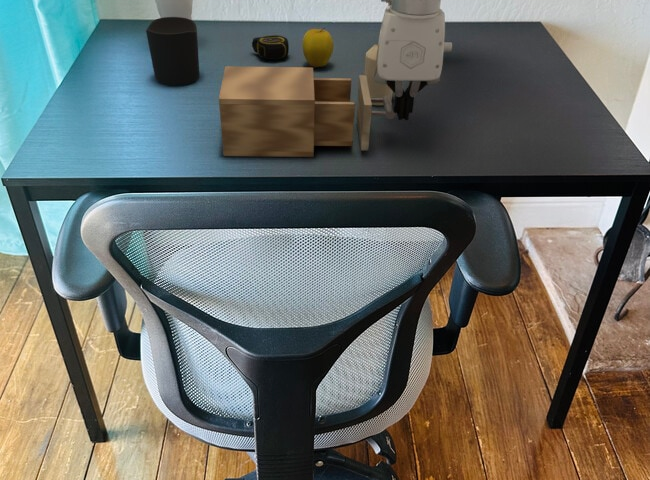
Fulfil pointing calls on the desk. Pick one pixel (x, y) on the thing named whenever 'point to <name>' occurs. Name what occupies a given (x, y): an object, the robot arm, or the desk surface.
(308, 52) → the apple
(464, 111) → the desk surface
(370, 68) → the candle
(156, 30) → the pen holder
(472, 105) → the desk surface
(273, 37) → the tape measure
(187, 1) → the cup
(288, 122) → the cabinet
